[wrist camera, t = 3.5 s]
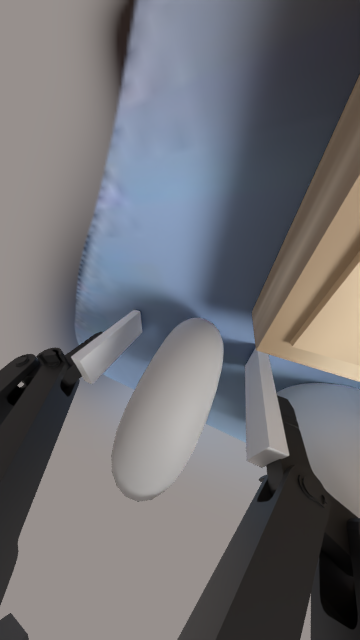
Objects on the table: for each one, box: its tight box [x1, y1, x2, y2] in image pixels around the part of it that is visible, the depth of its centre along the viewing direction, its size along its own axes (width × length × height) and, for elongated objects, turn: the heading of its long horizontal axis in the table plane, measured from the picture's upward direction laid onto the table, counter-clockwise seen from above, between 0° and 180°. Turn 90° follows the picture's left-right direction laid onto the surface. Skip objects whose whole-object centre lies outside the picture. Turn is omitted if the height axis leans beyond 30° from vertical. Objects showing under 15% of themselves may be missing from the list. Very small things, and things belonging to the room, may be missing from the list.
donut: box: [111, 318, 223, 502], centre depth 9 cm, size 10×3×10 cm, turn 164°
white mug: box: [276, 383, 360, 518], centre depth 10 cm, size 8×11×9 cm
